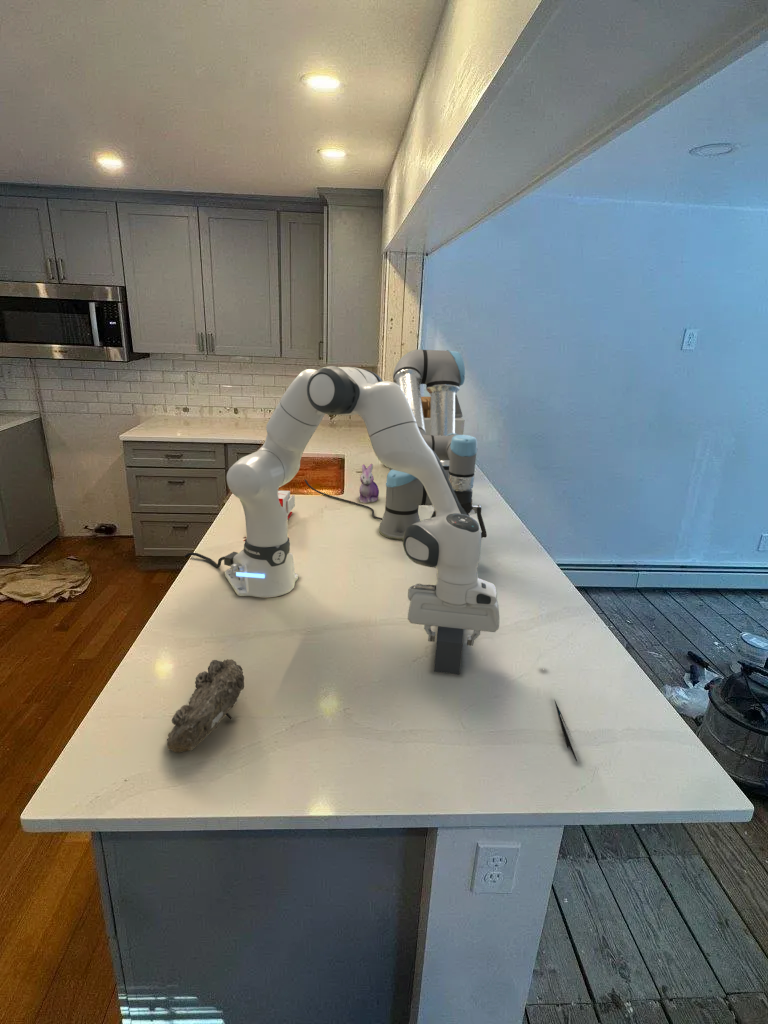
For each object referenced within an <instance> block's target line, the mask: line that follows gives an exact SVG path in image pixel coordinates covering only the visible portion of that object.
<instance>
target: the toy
mask: <svg viewBox="0 0 768 1024" xmlns="http://www.w3.org/2000/svg"><path fill="white" fill-rule="evenodd" d="M278 498H279V502H280V505H281V506H282V507H284V508H285V510H286V511H287V515H288V520H289V519H290V518H291V516H292V514H293V511H292V510H293V509H294V508H295V507H296V497H295V494H293V495H291V491H290V490H278Z"/></svg>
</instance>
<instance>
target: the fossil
mask: <svg viewBox="0 0 768 1024" xmlns="http://www.w3.org/2000/svg"><path fill="white" fill-rule="evenodd" d="M243 670H244V669H243V667H242V665H240V664H237V662H236V661H235V660H234V659H232V658H231V659H227V658H226V659H224V660H223V661H222V660H217V659H212V660H211V661H210V663H209V665H208V666H207V671H201V672H199V673H198V674H197V675H196V676H195V680H194V684H195V685H194V687H195V689H194V690H193V693H192V694H191V697H190V698H189V700H188V704H184V705H182V706H181V707H180V709H177V710H176V711H175V713H174V715H173V716H172V718H171V723H172V724H173V727H172V730H171V731H170V732H168V734H167V738H166V741H167V742H166V745H167V749H168V750H169V751H173V752H174V753H176V754H178V753H182V752H188V751H189V752H192V751H193V750H195V748H196V747H197V746H199V744H200V743H201V742H203V741H204V740H205V739H206V738H207V737H208V736H209V735H210V734H211V733H212V732H214V730H215V729H217V727H218V726H219V724H220V722H221V721H222V720H223V719H224V718H225V716H226V717H227V719H229V720H233V717H232V715H230V714H229V710H230V709H231V708H234V706H235V704H236V703H237V702H238V699H239V697H240V695H241V693H242V691H243V690H245V689H244V688H245V675H244V671H243Z"/></svg>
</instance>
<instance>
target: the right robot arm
mask: <svg viewBox="0 0 768 1024" xmlns="http://www.w3.org/2000/svg"><path fill="white" fill-rule="evenodd" d="M465 366H466V365H465V361H464V358H463V355H462V354H461V352H459V351H455V350H449V349H446V350H445V349H444V350H442V349H441V350H440V349H439V350H438V349H421V348H420V349H413V350H410V351H409V352H407V353H405V354H404V355H402V357H401V358H399V360H398V361H397V363H396V365H395V367H394V370H393V373H392V380H393V381H392V382H394V383H396V384H398V385H399V386H400V388H401V389H402V391H403V393H404V394H405V396H406V398H407V400H408V402H409V405H410V407H411V409H412V412H413V414H414V417H415V420H416V423H417V426H418V429H419V431H420V433H421V435H422V437H423V439H424V440H425V442H426V444H427V445H428V446H429V447H430V448H431V449H432V450H433V451H434V452H435V453H436V455H437V456H438V458H439V460H440V462H441V464H442V466H443V468H444V470H445V472H446V474H447V477H448V479H449V481H450V483H451V485H452V488H453V490H454V492H455V494H456V496H457V499H458V501H459V503H460V505H461V507H462V508H463V510H464V511H465V512H466V514H467V515H468V516H470V513H471V512H472V511H473V512H474V513H475V514H476V517H477V522H478V524H479V526H480V530H481V539H483V538H487V537H488V534H487V533H488V532H487V529H486V526H485V523H484V519H483V515H482V506H481V504H477V505H473V493H474V492H473V488H474V480H475V472H476V471H475V469H476V461H477V452H478V439H477V437H475V436H473V435H468V434H463V435H458V434H455V394H456V395H457V393H458V392H459V391H460V387H461V386H463V385H464V384H465V381H466V380H465V379H466V377H465V375H466V368H465ZM421 385H425V387H426V389H425V390H426V391H427V392H428V393H429V395H430V397H431V416H430V435H426V431H425V424H424V416H423V409H422V401H421V397H422V395H421V388H420V386H421ZM304 483H305V484H306V485H307V486H308V487H309V489H311V490H313V491H314V492H315V493H318V494H320V495H323V496H325V497H328V498H331V499H334V500H338V501H342V502H345V503H349V504H353V505H356V506H359V507H363V508H365V509H368V510H370V511H371V516H372V517H373V519H377V520H380V521H381V522H379V526H378V533H379V534H380V535H381V536H382V537H385V538H387V539H389V540H395V541H403V536H404V532H405V530H406V529H407V527H408V526H410V525H412V524H414V523H417V522H419V521H421V518H420V515H419V507H420V506H430V507H431V506H432V507H433V505H432V503H431V501H430V498H429V496H428V494H427V492H426V490H425V487H424V485H423V484H422V483H421V481H420V480H419V479H418V478H416V477H414V476H413V475H410V474H408V473H405V472H401V471H396V470H393V469H392V470H391V471H390V470H388V473H387V475H386V482H385V487H386V488H385V489H386V490H385V504H384V505H385V507H384V508H385V509H384V513H383V515H382V517H380V516H376V515H375V510H374V509H373V508H372V507H370V506H368V505H365V504H362V503H360V502H359V503H358V502H355V501H351V500H348V499H344V498H341V497H338V496H334V495H331V494H327V493H324V492H322V491H320V490H317V489H316V488H314V487H313V486H312V485H311V484H309V482H308V480H307V479H304ZM471 502H472V503H471ZM435 516H436V512H435V509H434V510H433V512H432V514H431V516H430V518H432V517H435ZM470 517H471V516H470Z"/></svg>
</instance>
